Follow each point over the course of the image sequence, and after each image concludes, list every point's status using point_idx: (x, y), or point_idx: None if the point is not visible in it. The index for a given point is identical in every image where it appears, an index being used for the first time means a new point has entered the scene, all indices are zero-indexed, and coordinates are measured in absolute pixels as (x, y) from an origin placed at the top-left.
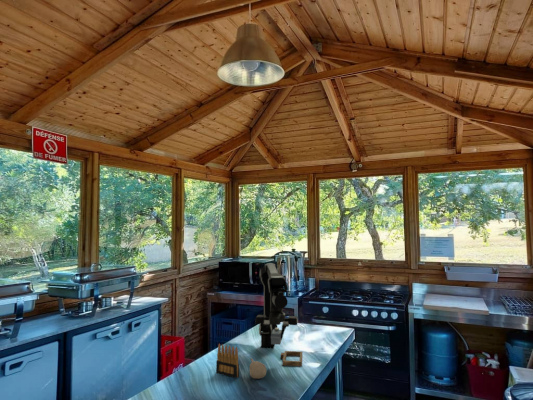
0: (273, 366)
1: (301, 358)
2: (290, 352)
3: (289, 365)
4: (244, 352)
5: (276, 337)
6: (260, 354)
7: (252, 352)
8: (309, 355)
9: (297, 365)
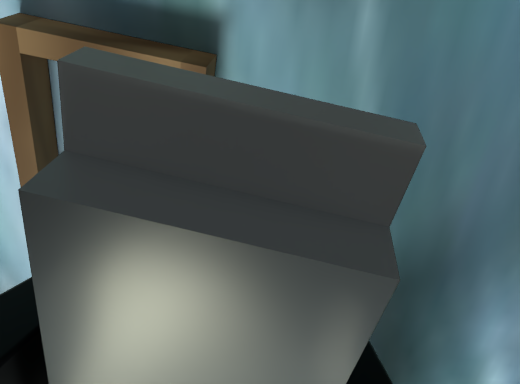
0: (317, 30)
1: (14, 128)
2: None
3: (143, 39)
4: (504, 375)
5: (202, 83)
6: (384, 324)
7: (439, 365)
8: (4, 255)
9: (59, 23)
